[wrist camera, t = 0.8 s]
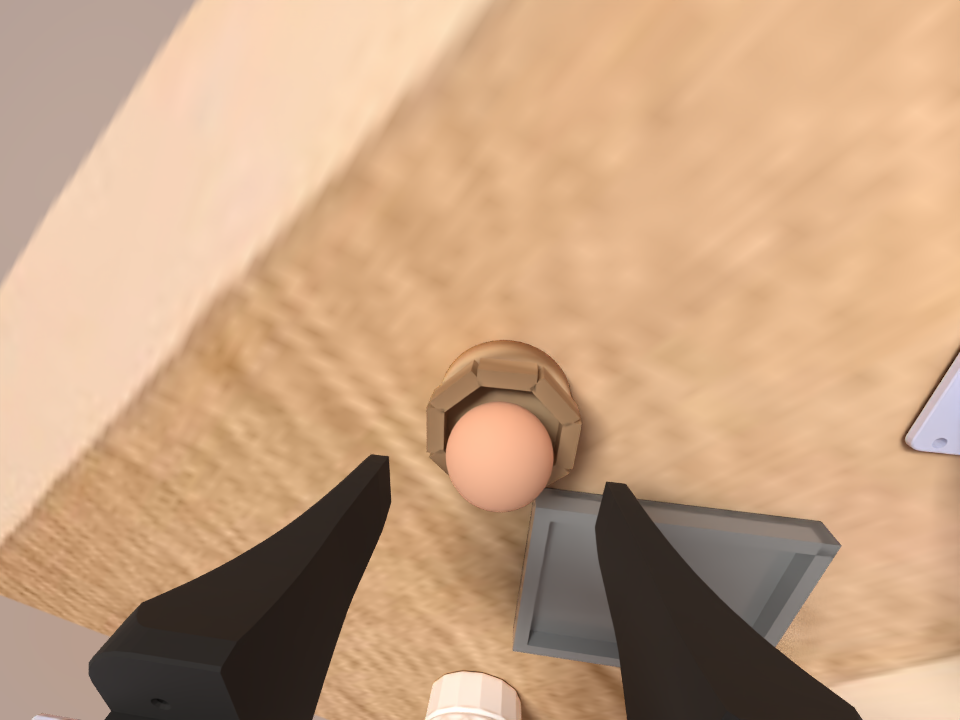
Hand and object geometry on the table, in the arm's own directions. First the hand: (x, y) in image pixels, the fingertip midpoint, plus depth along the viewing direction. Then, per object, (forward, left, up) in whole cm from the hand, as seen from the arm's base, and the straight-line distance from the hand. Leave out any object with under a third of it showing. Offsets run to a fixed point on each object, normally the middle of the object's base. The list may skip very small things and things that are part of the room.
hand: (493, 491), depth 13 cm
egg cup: (0, 0, -6) cm, 6 cm away
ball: (0, 0, -4) cm, 4 cm away
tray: (-9, +11, -6) cm, 15 cm away
